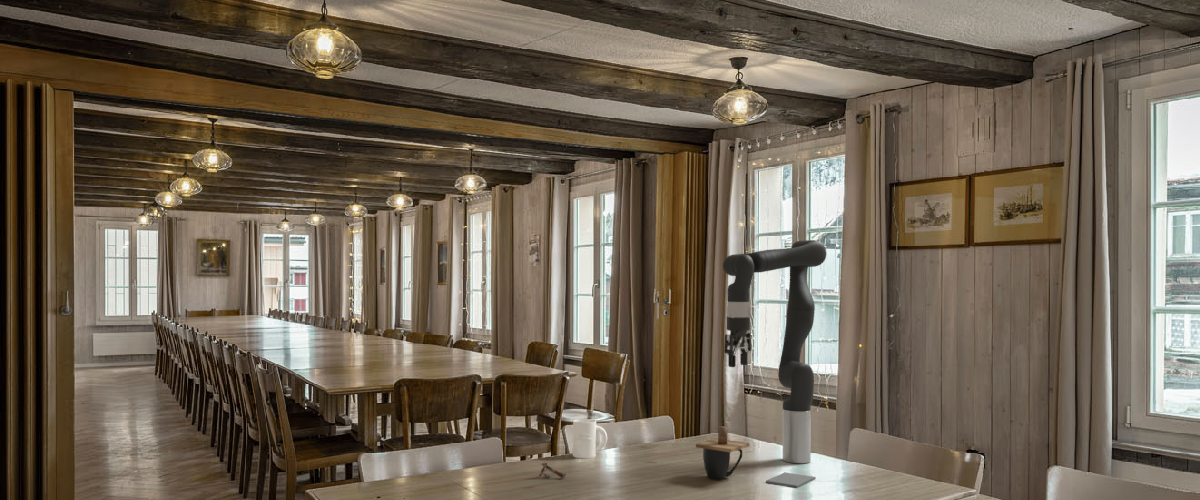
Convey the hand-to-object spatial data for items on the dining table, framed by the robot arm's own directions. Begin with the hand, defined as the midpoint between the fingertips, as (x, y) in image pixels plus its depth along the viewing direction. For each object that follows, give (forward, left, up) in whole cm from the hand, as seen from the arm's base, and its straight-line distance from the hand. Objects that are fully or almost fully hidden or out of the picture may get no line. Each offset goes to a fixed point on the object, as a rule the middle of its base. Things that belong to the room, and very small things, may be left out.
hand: (737, 365), depth 265 cm
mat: (+4, +20, -33) cm, 39 cm away
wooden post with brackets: (+47, -38, -34) cm, 69 cm away
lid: (+14, +2, -24) cm, 28 cm away
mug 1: (+14, -49, -33) cm, 61 cm away
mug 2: (+14, +2, -33) cm, 36 cm away
